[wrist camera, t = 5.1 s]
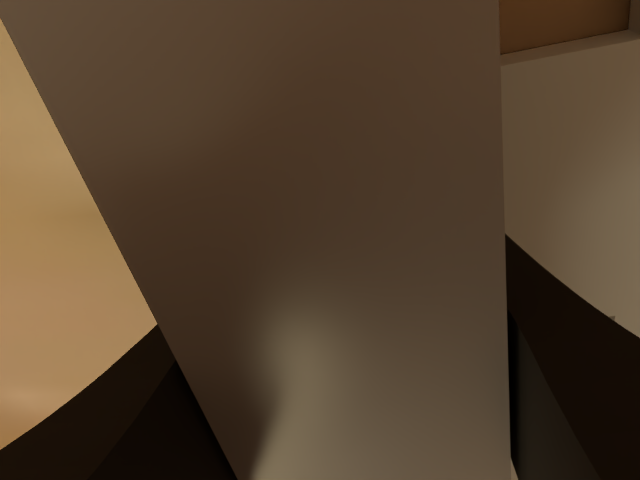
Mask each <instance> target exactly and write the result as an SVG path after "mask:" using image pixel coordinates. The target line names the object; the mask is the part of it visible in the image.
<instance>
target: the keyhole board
mask: <svg viewBox="0 0 640 480" xmlns="http://www.w3.org/2000/svg"><path fill="white" fill-rule="evenodd" d="M500 61H501V100H502V139H503V179H504V218H505V233H506V234H507V235H508V236H509V237H510V238H511V239H512V240H513V241H514V242H515V243H517V244H518V245H519V246H520V247H521V248H522V249H523V250H524V251H525V252H527V253H528V254H529V255H530V256H531V257H532V258H533V259H535V260H536V261H537V262H538V263H539V264H540V265H542V266H543V267H544V268H545V269H546V270H548V271H549V272H550V273H551V274H552V275H554V276H555V277H556V278H557V279H559V280H560V281H561V282H563V283H564V284H565V285H566V286H568V287H569V288H570V289H571V290H573V291H574V292H575V293H576V294H578V295H579V296H580V297H582V298H583V299H584V300H586V301H587V302H588V303H590V304H591V305H592V306H594V307H595V308H597V309H598V310H599V311H601V312H602V313H604V314H605V315H607V316H608V317H609V318H611V319H612V320H614V321H615V322H617V323H618V324H619V325H621V326H622V327H624V328H625V329H627V330H628V331H630V332H632V333H633V334H635V335H636V336H638V337H639V338H640V0H631V4H630V14H629V24H628V30H623V31H618V32H613V33H608V34H603V35H598V36H593V37H588V38H583V39H578V40H573V41H568V42H563V43H558V44H553V45H548V46H543V47H538V48H533V49H528V50H523V51H518V52H512V53H507V54H502V55H500ZM511 480H518V478H517V475H516V472H515V469H514V466H513V463H512V460H511Z"/></svg>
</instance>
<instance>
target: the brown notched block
mask: <svg viewBox="0 0 640 480" xmlns="http://www.w3.org/2000/svg"><path fill="white" fill-rule="evenodd" d="M0 18H1V20H2V22H3V24H4V26H5V28H6V30H7V32H8V33H9V35H10V37H11V39H12V41H13V43H14V45H15V47H16V49H17V51H18V53H19V55H20V57H21V59H22V61H23V63H24V65H25V67H26V69H27V70H28V72H29V74H30V76H31V78H32V80H33V82H34V84H35V86H36V88H37V90H38V92H39V94H40V96H41V98H42V100H43V102H44V104H45V105H46V107H47V109H48V111H49V113H50V115H51V117H52V119H53V121H54V123H55V125H56V127H57V129H58V131H59V133H60V135H61V137H62V139H63V141H64V142H65V144H66V146H67V148H68V150H69V152H70V154H71V156H72V158H73V160H74V162H75V164H76V166H77V168H78V170H79V172H80V174H81V176H82V178H83V179H84V181H85V183H86V185H87V187H88V189H89V191H90V193H91V195H92V197H93V199H94V201H95V203H96V205H97V207H98V209H99V211H100V213H101V214H102V216H103V218H104V220H105V222H106V224H107V226H108V228H109V230H110V232H111V234H112V236H113V238H114V240H115V242H116V244H117V246H118V248H119V250H120V251H121V253H122V255H123V257H124V259H125V261H126V263H127V265H128V267H129V269H130V271H131V273H132V275H133V277H134V279H135V281H136V283H137V285H138V286H139V288H140V290H141V292H142V294H143V296H144V298H145V300H146V302H147V304H148V306H149V308H150V310H151V312H152V314H153V316H154V318H155V320H156V322H157V323H158V325H159V327H160V329H161V331H162V333H163V335H164V337H165V339H166V341H167V343H168V345H169V347H170V349H171V351H172V353H173V355H174V357H175V359H176V360H177V362H178V364H179V366H180V368H181V370H182V372H183V374H184V376H185V378H186V380H187V382H188V384H189V386H190V388H191V390H192V392H193V394H194V395H195V397H196V399H197V401H198V403H199V405H200V407H201V409H202V411H203V413H204V415H205V417H206V419H207V421H208V423H209V425H210V427H211V429H212V431H213V432H214V434H215V436H216V438H217V440H218V442H219V444H220V446H221V448H222V450H223V452H224V454H225V456H226V458H227V460H228V462H229V464H230V466H231V467H232V469H233V471H234V473H235V475H236V477H237V479H238V480H511V453H510V414H509V374H508V335H507V296H506V257H505V218H504V179H503V139H502V100H501V61H500V22H499V0H0Z"/></svg>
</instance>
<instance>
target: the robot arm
mask: <svg viewBox="0 0 640 480" xmlns="http://www.w3.org/2000/svg"><path fill="white" fill-rule="evenodd" d="M505 257H506V296H507V335H508V374H509V414H510V453H511V460H512V463H513V466H514V469H515V472H516V475H517V478H518V480H640V338H639V337H638V336H636V335H635V334H633V333H632V332H630V331H628V330H627V329H625V328H624V327H622V326H621V325H619V324H618V323H617V322H615V321H614V320H612V319H611V318H609V317H608V316H607V315H605V314H604V313H602V312H601V311H599V310H598V309H597V308H595V307H594V306H592V305H591V304H590V303H588V302H587V301H586V300H584V299H583V298H582V297H580V296H579V295H578V294H576V293H575V292H574V291H573V290H571V289H570V288H569V287H568V286H566V285H565V284H564V283H563V282H561V281H560V280H559V279H557V278H556V277H555V276H554V275H552V274H551V273H550V272H549V271H548V270H546V269H545V268H544V267H543V266H542V265H540V264H539V263H538V262H537V261H536V260H535V259H533V258H532V257H531V256H530V255H529V254H528V253H527V252H525V251H524V250H523V249H522V248H521V247H520V246H519V245H518V244H517V243H515V242H514V241H513V240H512V239H511V238H510V237H509V236H508V235H507V234H506V233H505ZM0 480H238V479H237V477H236V475H235V473H234V471H233V469H232V467H231V466H230V464H229V462H228V460H227V458H226V456H225V454H224V452H223V450H222V448H221V446H220V444H219V442H218V440H217V438H216V436H215V434H214V432H213V431H212V429H211V427H210V425H209V423H208V421H207V419H206V417H205V415H204V413H203V411H202V409H201V407H200V405H199V403H198V401H197V399H196V397H195V395H194V394H193V392H192V390H191V388H190V386H189V384H188V382H187V380H186V378H185V376H184V374H183V372H182V370H181V368H180V366H179V364H178V362H177V360H176V359H175V357H174V355H173V353H172V351H171V349H170V347H169V345H168V343H167V341H166V339H165V337H164V335H163V333H162V331H161V329H160V327H159V325H158V324H157V325H156V326H155V327H154V328H153V329H152V330H151V331H150V332H149V333H148V334H147V335H145V336H144V337H143V338H142V339H141V340H140V341H139V342H138V343H137V344H135V345H134V346H133V347H132V348H131V349H130V350H129V351H128V352H127V353H125V354H124V355H123V356H122V357H121V358H120V359H119V360H118V361H117V362H115V363H114V364H113V365H112V366H111V367H110V368H109V369H108V370H107V371H105V372H104V373H103V374H102V375H101V376H99V377H98V378H97V379H96V380H95V381H93V382H92V383H91V384H90V385H89V386H87V387H86V388H85V389H84V390H82V391H81V392H80V393H79V394H77V395H76V396H75V397H73V398H72V399H71V400H70V401H68V402H67V403H66V404H64V405H63V406H62V407H60V408H59V409H58V410H57V411H55V412H54V413H53V414H51V415H50V416H49V417H47V418H46V419H45V420H43V421H42V422H40V423H39V424H38V425H36V426H35V427H33V428H32V429H30V430H29V431H28V432H26V433H25V434H23V435H22V436H20V437H19V438H17V439H16V440H14V441H13V442H11V443H10V444H8V445H7V446H6V447H4V448H3V449H1V450H0Z"/></svg>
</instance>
